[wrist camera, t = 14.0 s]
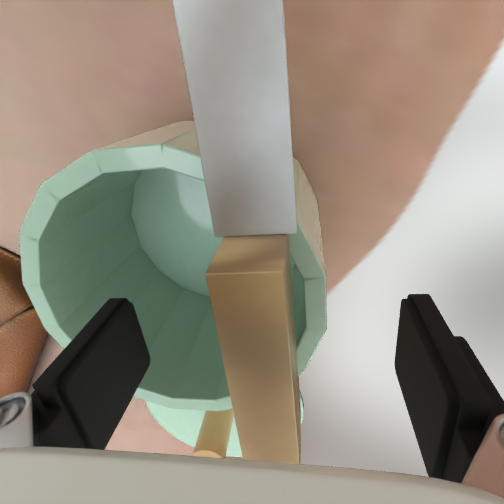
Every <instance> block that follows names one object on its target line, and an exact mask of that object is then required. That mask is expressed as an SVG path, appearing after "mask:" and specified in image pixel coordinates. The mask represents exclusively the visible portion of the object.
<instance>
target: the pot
mask: <svg viewBox="0 0 504 504" xmlns="http://www.w3.org/2000/svg"><path fill="white" fill-rule="evenodd" d="M293 170H294V187H295V205H296V222H297V232H296V233H292V234H288V237H289V251H290V265H291V279H292V293H293V307H294V321H295V335H296V349H297V363H298V376H300V375H301V374H302V373H303V372H304V371H305V369H306V368H307V366H308V364H309V362H310V360H311V358H312V356H313V354H314V352H315V350H316V349H317V347H318V345H319V343H320V341H321V339H322V337H323V335H324V334H325V331H326V329H327V315H326V314H327V313H326V272H325V263H324V254H323V245H322V237H321V228H320V219H319V210H318V202H317V199H316V197H315V194H314V192H313V190H312V187H311V185H310V182H309V180H308V178H307V176H306V174H305V173H304V171H303V169H302V167H301V165H300V163H299V162H298V161H297V160H296V159H295V158H294V157H293ZM223 238H224V237H215V236H214V231H213V225H212V220H211V214H210V208H209V203H208V197H207V192H206V186H205V181H204V175H203V169H202V164H201V158H200V153H199V147H198V142H197V136H196V130H195V125H194V120H189V121H180V122H175V123H172V124H169V125H166V126H163V127H160V128H157V129H154V130H151V131H148V132H145V133H142V134H139V135H136V136H133V137H130V138H127V139H124V140H121V141H118V142H115V143H112V144H109V145H106V146H103V147H100V148H97V149H94V150H91V151H89V152H87V153H86V154H84V155H83V156H81V157H80V158H78V159H77V160H75V161H74V162H73V163H71V164H70V165H68V166H67V167H65V168H64V169H62V170H61V171H59V172H58V173H56V174H55V175H53V176H52V177H50V178H49V179H47V180H46V181H44V182H43V183H42V184H41V185H40V187H39V189H38V191H37V194H36V196H35V198H34V200H33V202H32V204H31V207H30V209H29V211H28V213H27V215H26V217H25V220H24V222H23V224H22V226H21V228H20V230H19V239H20V254H21V269H22V282H23V285H24V287H25V290H26V292H27V294H28V296H29V298H30V300H31V302H32V304H33V306H34V308H35V310H36V312H37V314H38V316H39V318H40V320H41V322H42V324H43V326H44V328H45V329H46V331H47V332H48V333H49V334H50V335H51V336H52V337H53V338H54V339H55V340H56V341H57V342H58V343H59V345H60V346H61V347H62V348H63V349H65V348H66V347H67V345H68V344H69V343H70V342H71V341H72V340H73V339H74V338H75V336H76V335H77V334H78V333H79V332H80V331H81V330H82V329H83V327H84V326H85V325H86V324H87V323H88V322H89V321H90V320H91V318H92V317H93V316H94V315H95V314H96V313H97V312H98V311H99V309H100V308H101V307H102V306H103V305H104V304H105V303H106V302H107V300H109V299H110V298H127V299H128V300H129V302H132V303H133V305H134V308H135V311H136V314H137V318H138V321H139V324H140V327H141V330H142V333H143V336H144V339H145V342H146V345H147V348H148V351H149V354H150V365H149V368H148V370H147V371H146V373H145V375H144V377H143V379H142V381H141V383H140V384H139V386H138V388H137V390H136V392H135V394H134V396H133V397H136V398H139V399H143V400H146V401H149V402H152V403H155V404H158V405H162V406H165V407H168V408H171V409H172V408H173V409H184V410H205V411H221V410H222V411H224V410H228V409H232V403H231V398H230V393H229V388H228V384H227V379H226V374H225V369H224V364H223V359H222V354H221V349H220V344H219V339H218V335H217V330H216V325H215V320H214V315H213V310H212V305H211V300H210V295H209V290H208V286H207V281H206V276H205V273H206V271H207V269H208V267H209V265H210V263H211V261H212V259H213V257H214V255H215V253H216V251H217V249H218V247H219V245H220V244H221V242H222V240H223Z"/></svg>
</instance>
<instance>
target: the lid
mask: <svg viewBox="0 0 504 504" xmlns="http://www.w3.org/2000/svg"><path fill="white" fill-rule="evenodd" d="M299 391H300V389H299ZM145 401H146V400H145ZM146 404H147V406H148V409H149V411H150V412H151V414H152V415H153V417H154V418H155V419H156V421H157V422H158V423H159V424H160V425H161V426H162V427H163V428H164V429H165V430H166V431H167V432H169V433H170V434H171V435H173V436H174V437H176V438H177V439H179V440H180V441H182V442H184V443H186V444H188V445H190V446H192V447H194V450H193V454H192V456H200V457H213V458H226V456H232V457H242V452H241V447H240V442H239V437H238V433H237V428H236V423H235V418H234V413H233V408H232V409H228V410H224V411H222V410H221V411H205V410H184V409H173V408H172V409H171V408H168V407H165V406H162V405H158V404H155V403H152V402H149V401H146ZM300 405H301V424H302V420H303V412H304V411H303V410H304V405H303V398H302V395H301V392H300Z"/></svg>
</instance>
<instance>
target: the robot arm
mask: <svg viewBox="0 0 504 504" xmlns="http://www.w3.org/2000/svg"><path fill="white" fill-rule="evenodd" d="M149 365H150V354H149V351H148V348H147V345H146V342H145V339H144V336H143V333H142V330H141V327H140V324H139V321H138V318H137V314H136V311H135V308H134V305H133V303H132V302H129V300H128V299H127V298H110V299H109V300H107V302H106V303H105V304H104V305H103V306H102V307H101V308H100V309H99V311H98V312H97V313H96V314H95V315H94V316H93V317H92V318H91V320H90V321H89V322H88V323H87V324H86V325H85V326H84V327H83V329H82V330H81V331H80V332H79V333H78V334H77V335H76V336H75V338H74V339H73V340H72V341H71V342H70V343H69V344H68V345H67V347H66V348H65V349H64V350H63V351H62V352H61V353H60V354H59V356H58V357H57V358H56V359H55V360H54V361H53V362H52V363H51V365H50V366H49V367H48V368H47V369H46V370H45V371H44V372H43V374H42V375H41V376H40V377H39V378H38V379H37V380H36V381H35V383H34V384H33V385H32V386H33V388H34V390H35V391H34V392H33V393H32V394H31V395H29V394H28V393H26V392H16V393H12V394H9V395H6V396H4V397H2V398H0V504H504V401H503V399H502V397H501V396H500V394H499V393H498V391H497V389H496V388H495V386H494V385H493V383H492V382H491V380H490V378H489V377H488V375H487V373H486V372H485V370H484V368H483V367H482V365H481V364H480V362H479V360H478V359H477V358H476V356H475V354H474V352H473V351H472V349H471V348H470V346H469V344H468V343H467V341H466V340H465V339H464V338H463V337H461V336H460V337H457V336H455V337H454V336H453V334H452V332H451V331H450V329H449V327H448V326H447V324H446V322H445V320H444V319H443V317H442V315H441V314H440V312H439V310H438V309H437V307H436V305H435V303H434V302H433V300H432V298H431V296H430V295H429V294H410V295H408V298H407V299H402V301H401V309H400V318H399V327H398V336H397V346H396V356H395V370H396V374H397V377H398V381H399V384H400V387H401V390H402V393H403V397H404V400H405V403H406V406H407V410H408V413H409V416H410V419H411V422H412V425H413V429H414V432H415V435H416V438H417V441H418V445H419V448H420V451H421V454H422V457H423V460H424V464H425V467H426V470H427V473H428V476H429V477H425V476H418V475H411V474H404V473H393V472H383V471H373V470H363V469H352V468H342V467H329V466H316V465H303V464H292V463H279V462H266V461H254V460H240V459H227V458H213V457H200V456H186V455H172V454H158V453H144V452H129V451H114V450H104V449H105V447H106V446H107V444H108V442H109V440H110V438H111V436H112V434H113V433H114V431H115V429H116V427H117V425H118V423H119V422H120V420H121V418H122V416H123V414H124V412H125V410H126V409H127V407H128V405H129V403H130V401H131V399H132V397H133V396H134V394H135V392H136V390H137V388H138V386H139V384H140V383H141V381H142V379H143V377H144V375H145V373H146V371H147V370H148V368H149Z"/></svg>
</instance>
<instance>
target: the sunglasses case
mask: <svg viewBox="0 0 504 504" xmlns="http://www.w3.org/2000/svg"><path fill="white" fill-rule="evenodd" d="M47 336H48V332H47V331H46V329H45V328H44V326H43V324H42V322H41V320H40V318H39V316H38V314H37V312H36V310H35V308H34V306H33V304H32V302H31V300H30V298H29V296H28V294H27V292H26V290H25V287H24V285H23V282H22V269H21V257H20V256H18V255H16V254H14V253H12V252H10V251H8V250H5V249H3V248H1V247H0V398H2V397H4V396H6V395H9V394H12V393H16V392H26V393H27V391H28V388H29V386H30V383H31V380H32V377H33V374H34V371H35V368H36V366H37V363H38V360H39V357H40V355H41V352H42V350H43V347H44V344H45V341H46V338H47Z"/></svg>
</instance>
